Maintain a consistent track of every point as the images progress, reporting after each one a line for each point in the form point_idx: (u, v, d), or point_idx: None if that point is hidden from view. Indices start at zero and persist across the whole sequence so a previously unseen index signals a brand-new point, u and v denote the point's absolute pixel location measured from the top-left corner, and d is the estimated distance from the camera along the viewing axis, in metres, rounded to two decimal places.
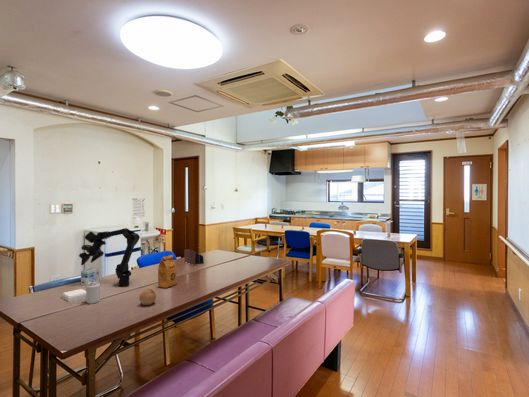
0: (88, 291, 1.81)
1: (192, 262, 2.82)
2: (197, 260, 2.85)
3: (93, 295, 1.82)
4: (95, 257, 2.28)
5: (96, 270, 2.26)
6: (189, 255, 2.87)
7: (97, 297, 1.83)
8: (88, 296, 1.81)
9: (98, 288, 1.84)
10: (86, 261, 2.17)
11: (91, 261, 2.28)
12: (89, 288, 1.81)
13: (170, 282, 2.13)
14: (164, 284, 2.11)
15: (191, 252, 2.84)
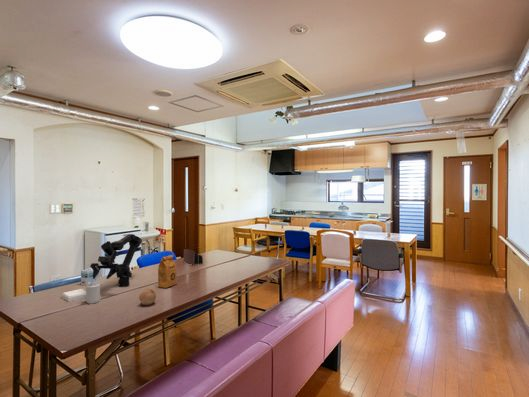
0: (88, 291, 1.81)
1: (191, 262, 2.82)
2: (196, 260, 2.84)
3: (93, 295, 1.82)
4: (97, 272, 1.96)
5: None
6: (188, 255, 2.87)
7: (97, 297, 1.83)
8: (88, 296, 1.81)
9: (98, 288, 1.84)
10: (113, 273, 1.96)
11: (94, 277, 1.92)
12: (89, 288, 1.81)
13: (170, 282, 2.13)
14: (164, 284, 2.11)
15: (190, 252, 2.84)
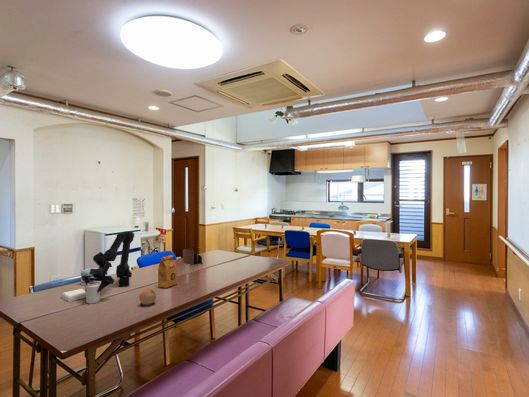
0: (88, 291, 1.81)
1: (190, 262, 2.81)
2: (195, 260, 2.84)
3: (93, 295, 1.82)
4: None
5: None
6: (187, 256, 2.86)
7: (97, 297, 1.83)
8: (88, 296, 1.81)
9: None
10: None
11: None
12: (89, 288, 1.81)
13: (170, 282, 2.13)
14: (164, 284, 2.11)
15: (189, 252, 2.83)
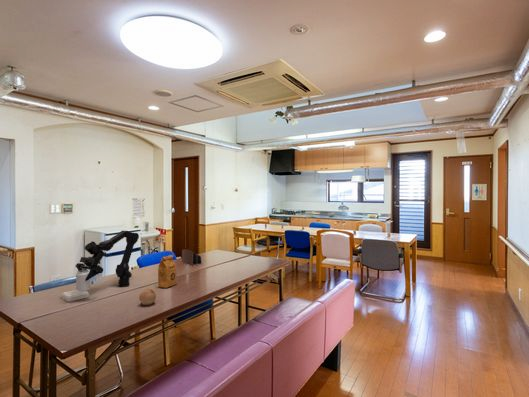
0: (77, 279, 1.84)
1: (190, 262, 2.81)
2: (195, 260, 2.83)
3: (81, 283, 1.84)
4: None
5: None
6: (186, 256, 2.86)
7: (85, 285, 1.85)
8: (77, 284, 1.84)
9: (86, 276, 1.86)
10: (94, 275, 1.90)
11: None
12: (77, 276, 1.84)
13: (170, 282, 2.13)
14: (164, 284, 2.11)
15: (189, 252, 2.83)
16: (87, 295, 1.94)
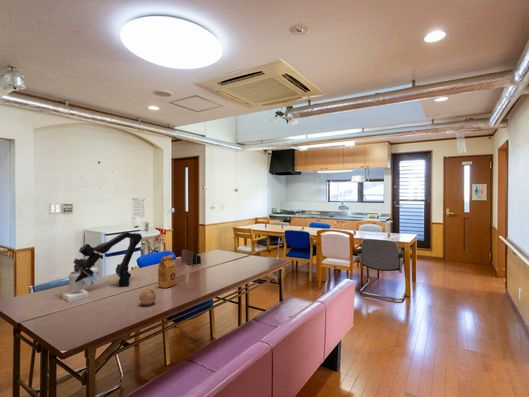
0: (69, 279, 1.91)
1: (189, 262, 2.81)
2: (194, 260, 2.83)
3: (72, 284, 1.90)
4: None
5: (96, 270, 2.26)
6: (186, 256, 2.85)
7: (75, 286, 1.91)
8: (69, 284, 1.91)
9: None
10: None
11: None
12: (69, 277, 1.91)
13: (170, 282, 2.13)
14: (164, 284, 2.11)
15: (188, 252, 2.83)
16: (87, 295, 1.94)
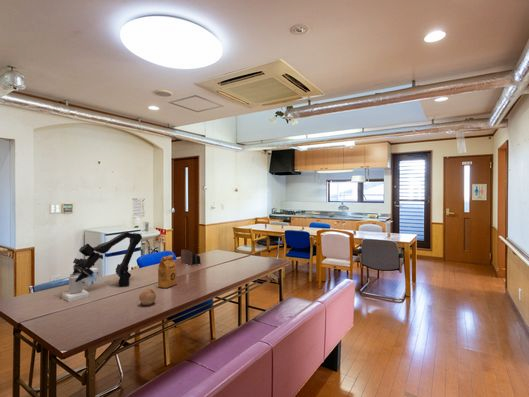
0: None
1: (189, 262, 2.80)
2: (194, 260, 2.83)
3: (71, 286, 1.90)
4: None
5: (96, 270, 2.26)
6: (186, 256, 2.85)
7: (75, 288, 1.91)
8: (69, 286, 1.91)
9: None
10: (85, 277, 1.93)
11: None
12: (69, 279, 1.91)
13: (170, 282, 2.13)
14: (164, 284, 2.11)
15: (188, 252, 2.82)
16: (87, 295, 1.94)
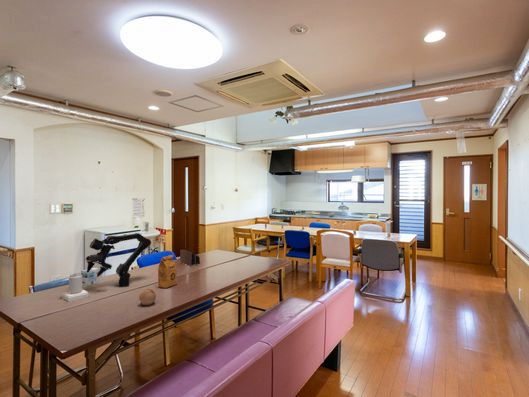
0: (69, 281, 1.91)
1: (188, 263, 2.80)
2: (193, 261, 2.82)
3: (71, 286, 1.90)
4: (91, 265, 2.08)
5: (96, 270, 2.26)
6: (185, 256, 2.85)
7: (75, 288, 1.91)
8: (69, 286, 1.91)
9: (77, 280, 1.91)
10: None
11: (88, 271, 2.05)
12: (69, 279, 1.91)
13: (170, 282, 2.13)
14: (164, 284, 2.11)
15: (187, 253, 2.82)
16: (87, 295, 1.94)
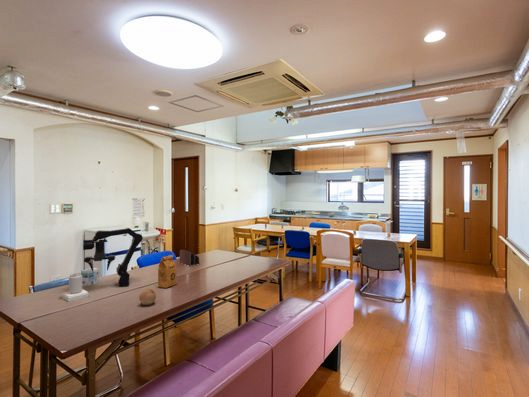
0: (69, 281, 1.91)
1: (188, 263, 2.80)
2: (193, 261, 2.82)
3: (71, 286, 1.90)
4: (92, 263, 2.09)
5: (96, 270, 2.26)
6: (184, 256, 2.84)
7: (75, 288, 1.91)
8: (69, 286, 1.91)
9: (77, 280, 1.91)
10: (109, 262, 2.14)
11: None
12: (69, 279, 1.91)
13: (170, 282, 2.13)
14: (164, 284, 2.11)
15: (186, 253, 2.81)
16: (87, 295, 1.94)
